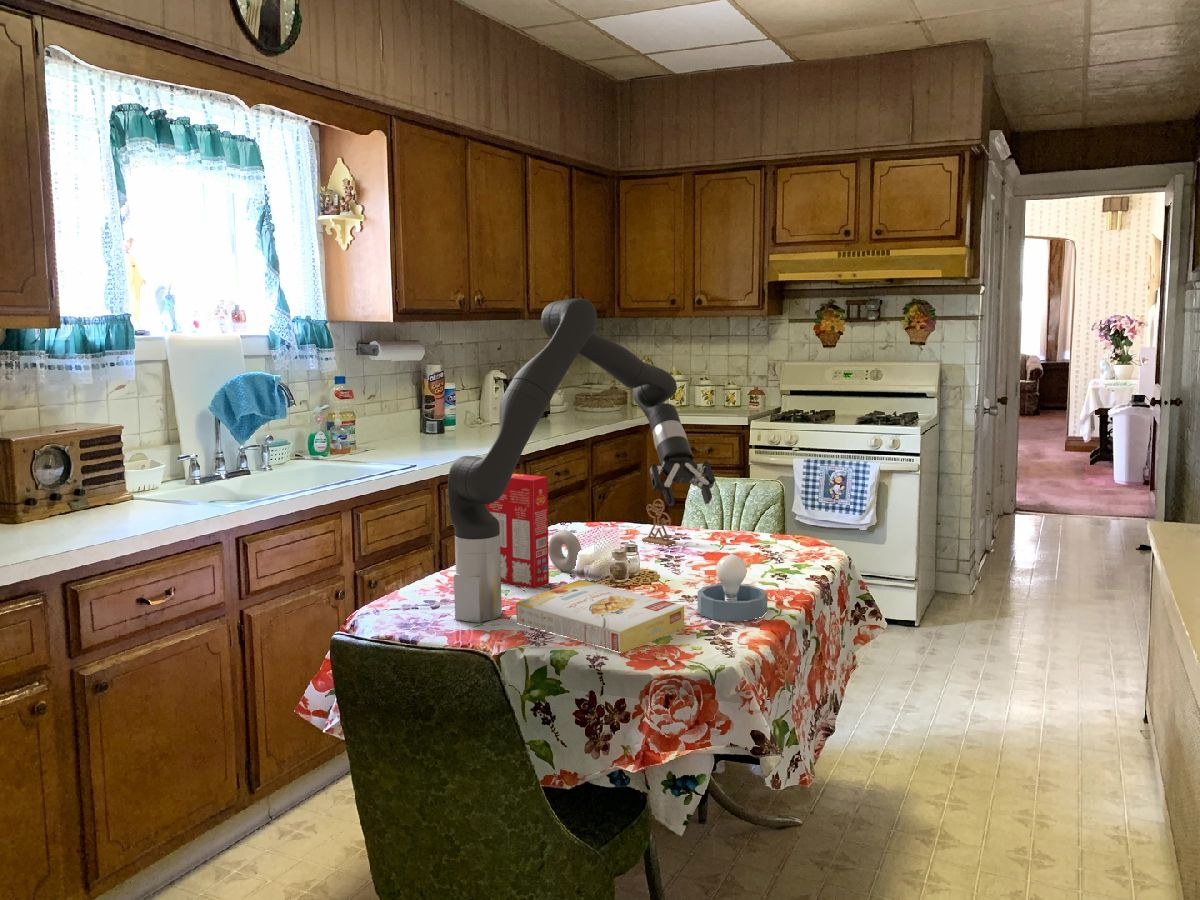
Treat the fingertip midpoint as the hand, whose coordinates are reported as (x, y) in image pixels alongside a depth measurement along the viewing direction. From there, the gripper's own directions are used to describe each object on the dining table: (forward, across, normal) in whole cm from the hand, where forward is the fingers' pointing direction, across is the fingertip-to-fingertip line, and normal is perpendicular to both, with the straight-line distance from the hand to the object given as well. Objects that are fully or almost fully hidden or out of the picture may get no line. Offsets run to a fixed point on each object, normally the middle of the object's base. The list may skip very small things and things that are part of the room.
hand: (690, 503), depth 222 cm
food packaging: (0, -35, +30) cm, 46 cm away
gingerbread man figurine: (-19, +10, +48) cm, 52 cm away
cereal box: (+26, -26, +4) cm, 37 cm away
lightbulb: (+25, +3, +3) cm, 25 cm away
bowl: (+26, +3, +3) cm, 26 cm away
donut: (-4, -22, +34) cm, 40 cm away
